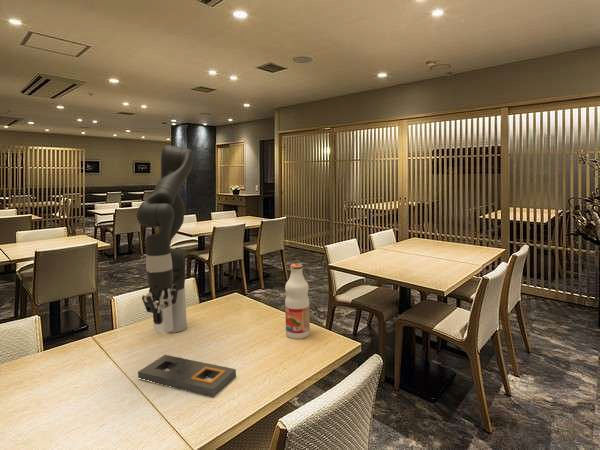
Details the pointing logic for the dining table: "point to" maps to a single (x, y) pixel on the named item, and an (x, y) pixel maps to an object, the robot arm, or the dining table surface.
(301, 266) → the fruit juice
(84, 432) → the dining table surface
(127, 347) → the dining table surface
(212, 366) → the grey board with holes
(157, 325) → the grey square peg
